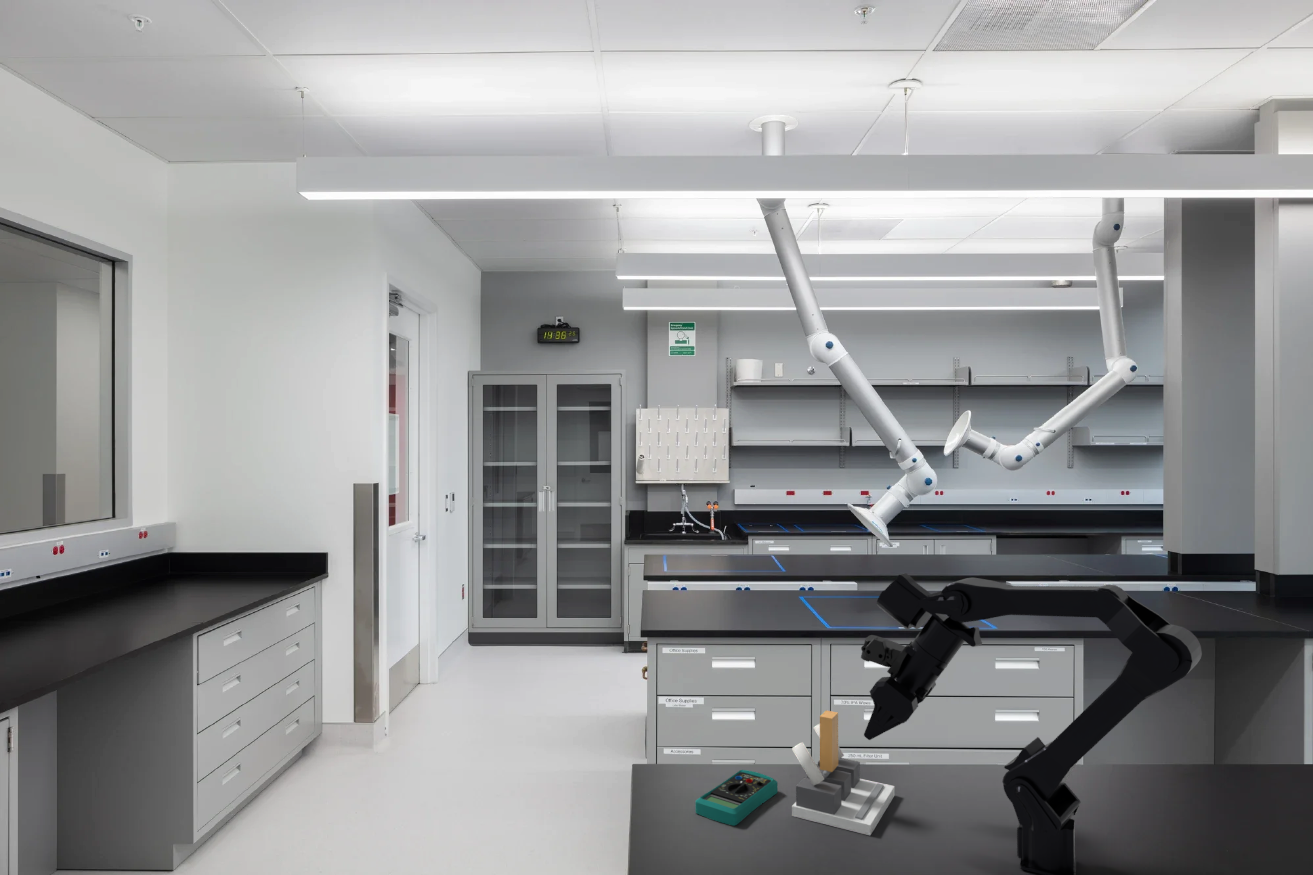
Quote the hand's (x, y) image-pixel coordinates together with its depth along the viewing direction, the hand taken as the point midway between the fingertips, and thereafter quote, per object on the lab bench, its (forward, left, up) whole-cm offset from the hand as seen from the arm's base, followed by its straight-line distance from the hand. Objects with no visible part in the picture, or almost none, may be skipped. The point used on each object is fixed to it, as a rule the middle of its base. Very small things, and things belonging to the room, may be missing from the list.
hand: (874, 729), depth 119 cm
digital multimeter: (+20, +7, -14) cm, 25 cm away
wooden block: (+7, -1, -8) cm, 11 cm away
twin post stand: (+5, -1, -13) cm, 14 cm away
